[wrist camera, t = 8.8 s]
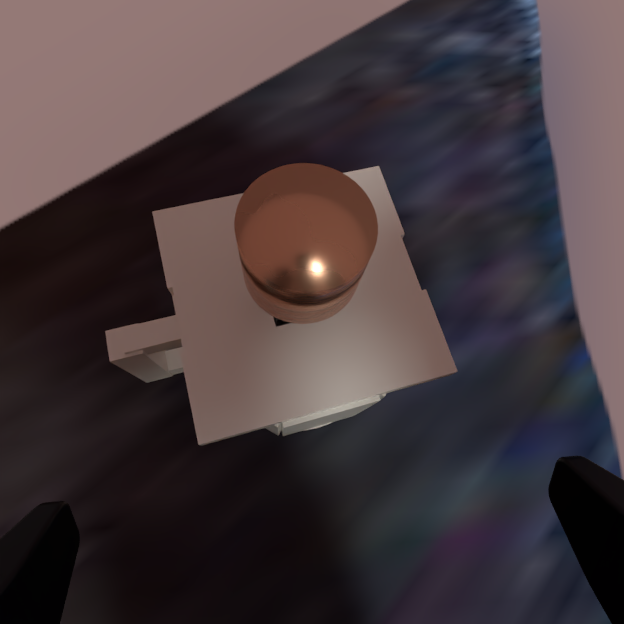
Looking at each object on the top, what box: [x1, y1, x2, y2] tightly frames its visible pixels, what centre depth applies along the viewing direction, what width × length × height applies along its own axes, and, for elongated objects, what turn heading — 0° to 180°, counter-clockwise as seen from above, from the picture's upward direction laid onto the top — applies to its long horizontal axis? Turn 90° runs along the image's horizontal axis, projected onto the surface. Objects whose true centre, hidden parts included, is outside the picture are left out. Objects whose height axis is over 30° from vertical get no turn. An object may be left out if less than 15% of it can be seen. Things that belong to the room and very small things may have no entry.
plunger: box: [234, 163, 378, 327], centre depth 14 cm, size 5×5×9 cm
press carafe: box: [105, 166, 457, 446], centre depth 16 cm, size 8×10×6 cm
